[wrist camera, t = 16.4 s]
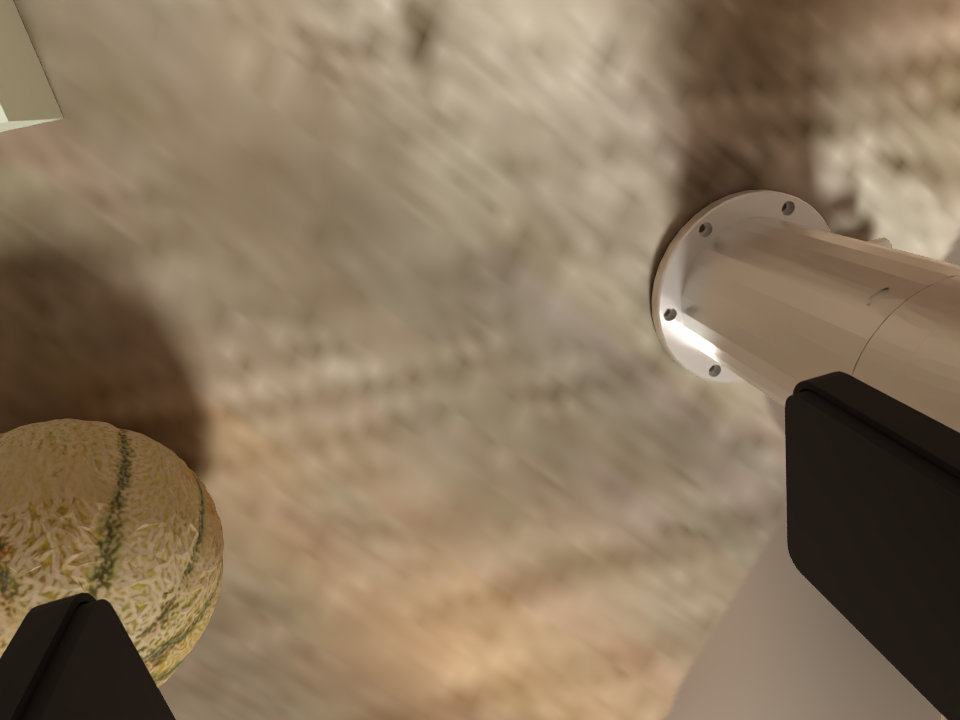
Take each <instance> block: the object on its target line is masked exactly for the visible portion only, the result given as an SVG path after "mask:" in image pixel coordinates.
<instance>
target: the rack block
mask: <svg viewBox="0 0 960 720" xmlns="http://www.w3.org/2000/svg"><path fill="white" fill-rule="evenodd" d="M59 119H64V118H63V115H62V113H61V111H60V108H59V106H58V104H57V101H56V99H55V97H54V94H53V92H52V90H51V87H50V85H49V83H48V80H47V78H46V76H45V73H44V71H43V69H42V66H41V64H40V62H39V59H38V57H37V55H36V52H35V50H34V48H33V45H32V43H31V41H30V38H29V36H28V34H27V31H26V29H25V27H24V24H23V22H22V20H21V17H20V15H19V13H18V10H17V8H16V6H15V3H14V1H13V0H0V132H3V131H7V130H12V129H17V128H21V127H26V126H31V125H35V124H40V123H45V122H49V121H54V120H59Z"/></svg>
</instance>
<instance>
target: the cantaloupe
mask: <svg viewBox="0 0 960 720" xmlns="http://www.w3.org/2000/svg"><path fill="white" fill-rule="evenodd" d="M223 549H224V542H223V531H222V525H221V521H220V518H219V516H218V514H217V512H216V508H215V503H214V501H213V500H212V498H211V496H210V494H209V493H208V492H207V490H206V487H205V485H204V484H203V483H202V482H201V481H200V480H199V478H198V477H197V475H196V474H195V473H194V471H192V470H190V469H189V468H188V466H187V465H186V463H185V461H183V460H182V459H180V458H179V457H178V456H177V455H176V454H175V453H174V452H173V451H172V450H170V449H169V448H167V447H166V446H164V445H162V444H160V443H158V442H157V441H155V440H153V439H151V438H149V437H147V436H145V435H144V434H142V433H138V432H134V431H130V430H126V429H121V428H116V427H115V426H113V425H111V424H109V423H106V422H100V421H83V420H78V419H69V418H67V419H58V420H57V419H56V420H51V421H47V422H39V423H31V424H27V425H24V426H20V427H17V428H15V429H13V430H11V431H9V432H6V433H1V434H0V658H1V656H2V655H3V653H4V651H5V650H6V648H7V646H8V645H9V643H10V641H11V640H12V638H13V636H14V635H15V633H16V631H17V630H18V628H19V626H20V625H21V623H22V621H23V620H24V618H25V616H26V615H27V613H28V612H29V611H30V610H31V609H32V608H34V607H36V606H38V605H41V604H45V603H48V602H51V601H55V600H58V599H62V598H65V597H68V596H72V595H75V594H79V593H82V592H83V593H89V594H90V595H92V596H93V597H94V598H95V599H96V600H100V599H106V600H107V601H108V602H110V604H111V605H112V606H113V608H114V610H115V611H116V613H117V615H118V617H119V619H120V620H121V622H122V624H123V626H124V628H125V629H126V631H127V633H128V635H129V637H130V638H131V640H132V642H133V644H134V646H135V647H136V649H137V651H138V653H139V655H140V656H141V658H142V660H143V662H144V664H145V665H146V667H147V669H148V671H149V673H150V674H151V676H152V678H153V680H154V682H155V683H156V685H157V687H159V686H160V685H162V684H163V683H164V682H166V681H167V680H168V679H169V677H170V676H171V675H172V674H173V673H174V671H175V670H176V669H177V668H178V667H179V666H180V664H181V663H182V661H183V660H184V659H185V657H186V656H187V655H188V654H189V652H190V651H191V650H192V648H193V647H194V645H195V644H196V642H197V641H198V639H199V638H200V637H201V635H202V633H203V631H204V630H205V628H206V626H207V624H208V622H209V620H210V618H211V615H212V613H213V611H214V608H215V605H216V602H217V598H218V594H219V591H220V587H221V583H222V572H223Z"/></svg>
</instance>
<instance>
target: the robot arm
mask: <svg viewBox="0 0 960 720" xmlns="http://www.w3.org/2000/svg"><path fill="white" fill-rule="evenodd" d="M700 226H701V229H700V230H699V228H700ZM666 310H667V311H666ZM665 311H666V313H664V312H665ZM652 317H653V322H654V326H655V329H656V333H657V336H658V338H659V340H660V342H661V344H662V346H663V348H664V349H665V350H666V352H667V353H668V354H669V355H670V356H671V358H672V359H673V360H674V361H675V362H677V363H678V364H679V365H680V366H682V367H683V368H684V369H685V370H687V371H689V372H690V373H692V374H694V375H695V376H697V377H699V378H702V379H705V380H708V381H711V382H719V383H738V382H746V381H747V382H748V383H750V384H751V385H753V386H754V387H756V388H757V389H759V390H760V391H762V392H763V393H765V394H766V395H768V396H769V397H771V398H772V399H774V400H775V401H777V402H778V403H780V404H781V405H783V406H784V407H785V435H786V488H787V539H788V540H787V541H788V550H789V554H790V557H791V559H792V561H793V563H794V564H795V566H796V568H797V569H798V570H799V571H800V573H801V574H802V575H804V576H805V578H807V580H808V581H809V582H811V584H812V585H813V586H815V588H816V589H817V590H818V591H819V592H820V593H821V594H822V595H823V596H825V598H826V599H827V600H828V601H829V602H830V603H831V604H832V605H833V606H834V607H836V609H838V611H840V613H841V614H842V615H844V617H846V619H847V620H848V621H849V622H850V623H851V624H852V625H853V626H854V627H855V628H856V629H857V630H858V631H859V632H860V633H861V634H862V635H863V636H864V637H865V638H866V639H868V641H869V642H870V643H871V644H872V645H873V646H874V647H875V648H876V649H877V650H878V651H880V653H881V654H882V655H883V656H885V658H886V659H887V660H888V661H889V662H890V663H891V664H892V665H893V666H895V668H896V669H897V670H898V671H899V672H900V673H901V674H902V675H903V676H904V677H905V678H906V679H907V680H908V681H909V682H910V683H911V684H913V686H914V687H915V688H916V689H917V690H918V691H919V692H920V693H921V694H922V695H923V696H924V697H925V698H926V699H927V700H928V701H929V702H930V703H931V704H932V705H933V706H934V707H935V708H936V709H937V710H938V711H939V712H940V713H941V720H960V266H959V265H955V264H951V263H947V262H943V261H939V260H935V259H932V258H928V257H924V256H920V255H916V254H912V253H908V252H905V251H901V250H897V249H893V248H892V245H891V243H890V241H889V240H888V239H886V238H878V239H875V240H871V241H867V242H866V241H862V240H858V239H854V238H850V237H847V236H843V235H839V234H835V233H831V230H830V229H829V227H828V225H827V224H826V222H825V221H824V219H823V217H822V216H821V215H820V214H819V213H818V212H817V211H816V210H815V209H814V208H813V207H812V206H811V205H809V204H808V203H806V202H804V201H803V200H801V199H799V198H798V197H795V196H792V195H789V194H786V193H782V192H777V191H771V190H765V189H763V190H746V191H742V192H738V193H734V194H730V195H727V196H725V197H723V198H721V199H719V200H717V201H715V202H712V203H711V204H709V205H708V206H706V207H705V208H704V209H702V210H701V211H699V212H698V213H697V214H695V215H694V216H693V217H692V218H691V219H690V220H689V221H688V222H687V223H686V224H685V225H684V226H683V227H682V228H681V229H680V231H679V232H678V233H677V235H676V236H675V237H674V239H673V240H672V242H671V243H670V244H669V246H668V248H667V250H666V252H665V254H664V256H663V258H662V260H661V262H660V264H659V267H658V270H657V274H656V277H655V280H654V285H653V293H652ZM0 720H176V719H175V718H174V716H173V714H172V712H171V710H170V709H169V707H168V705H167V703H166V701H165V700H164V698H163V696H162V694H161V692H160V691H159V689H158V687H157V685H156V683H155V682H154V680H153V678H152V676H151V674H150V673H149V671H148V669H147V667H146V665H145V664H144V662H143V660H142V658H141V656H140V655H139V653H138V651H137V649H136V647H135V646H134V644H133V642H132V640H131V638H130V637H129V635H128V633H127V631H126V629H125V628H124V626H123V624H122V622H121V620H120V619H119V617H118V615H117V613H116V611H115V610H114V608H113V606H112V605H111V604H110V602H108V601H107V600H106V599H100V600H96V599H95V598H94V597H93V596H92V595H90V594H89V593H83V592H82V593H79V594H75V595H72V596H68V597H65V598H62V599H58V600H55V601H51V602H48V603H45V604H41V605H38V606H36V607H34V608H32V609H31V610H30V611H29V612H28V613H27V615H26V616H25V618H24V620H23V621H22V623H21V625H20V626H19V628H18V630H17V631H16V633H15V635H14V636H13V638H12V640H11V641H10V643H9V645H8V646H7V648H6V650H5V651H4V653H3V655H2V656H1V658H0Z"/></svg>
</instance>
